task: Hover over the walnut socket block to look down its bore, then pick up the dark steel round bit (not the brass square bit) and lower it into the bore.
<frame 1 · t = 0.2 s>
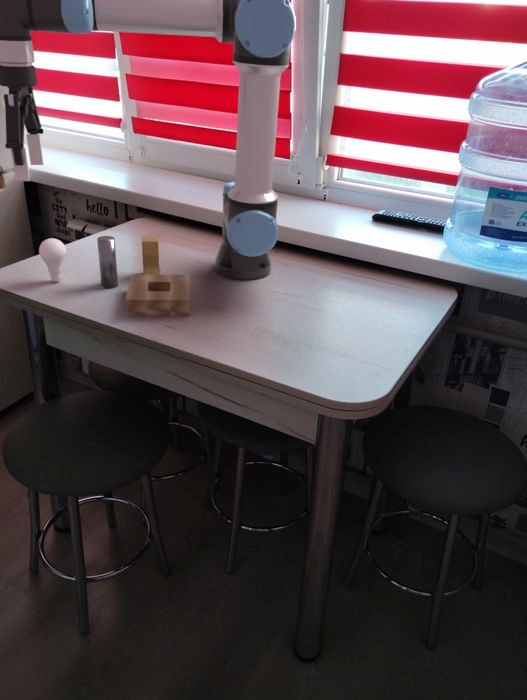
hand: (30, 172, 128), 28 cm above the table, fingers open, 13 cm apart
socket block: (159, 302, 140), on the table
lightbulb: (56, 282, 146), on the table
round bit: (109, 285, 146), on the table
square bit: (152, 275, 153), on the table
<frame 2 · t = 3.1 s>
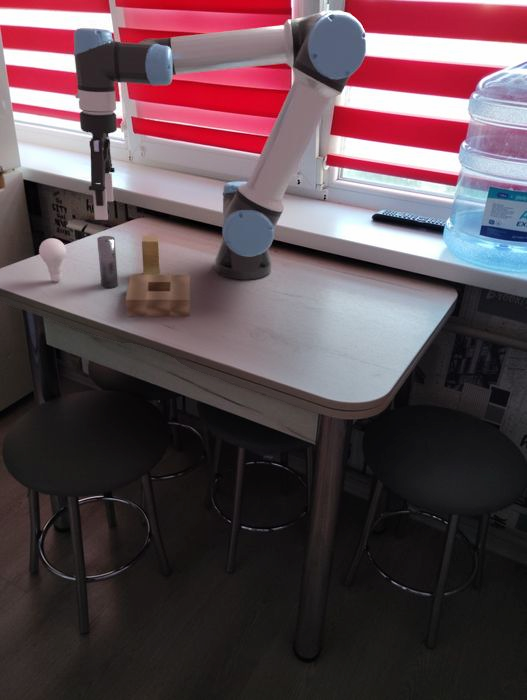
hand: (104, 209, 136), 19 cm above the table, fingers open, 13 cm apart
nothing on the table moved.
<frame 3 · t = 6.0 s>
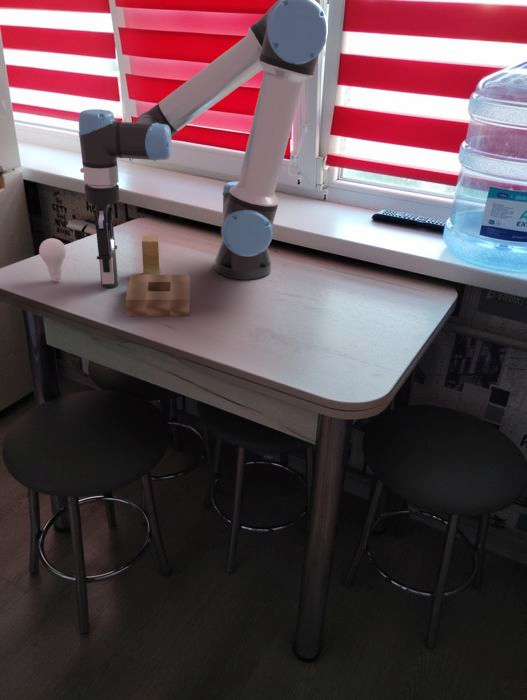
hand: (109, 279, 145), 2 cm above the table, fingers closed on round bit, 4 cm apart
round bit: (109, 285, 146), on the table, touching gripper
everything else where it was.
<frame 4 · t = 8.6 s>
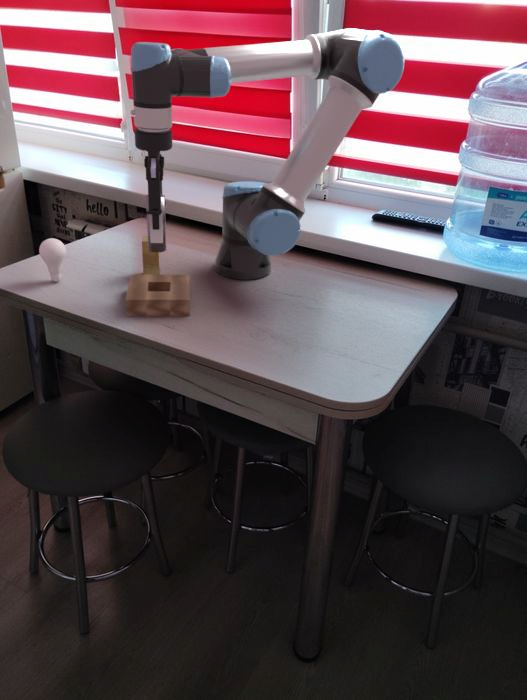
hand: (157, 238, 132), 16 cm above the table, fingers closed on round bit, 4 cm apart
round bit: (157, 249, 133), point 13 cm above the table, touching gripper
everything else where it was.
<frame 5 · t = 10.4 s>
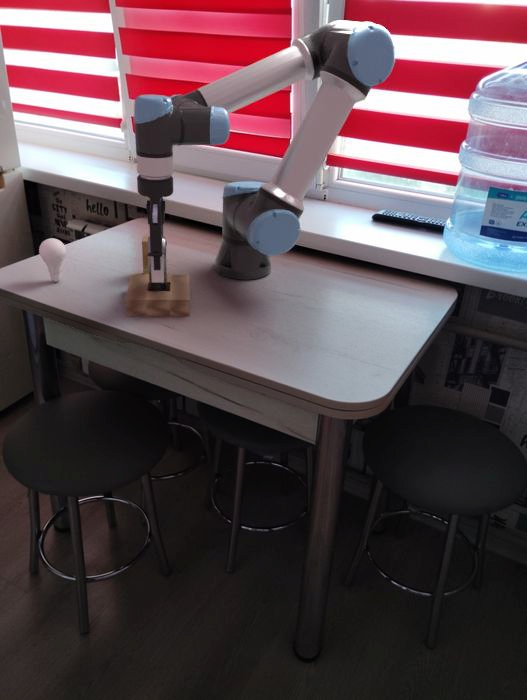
hand: (158, 277, 137), 6 cm above the table, fingers closed on round bit, 4 cm apart
round bit: (158, 287, 138), point 4 cm above the table, touching gripper
everything else where it was.
when the fingers open (5 cm above the table, at t = 11.6 s): round bit drops 2 cm, resting in socket block.
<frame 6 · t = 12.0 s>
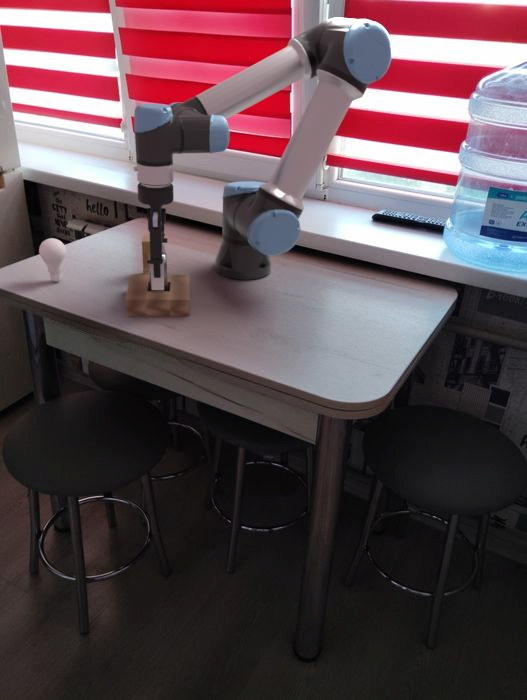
hand: (158, 279, 137), 6 cm above the table, fingers open, 10 cm apart
round bit: (159, 302, 140), resting in socket block
everything else where it was.
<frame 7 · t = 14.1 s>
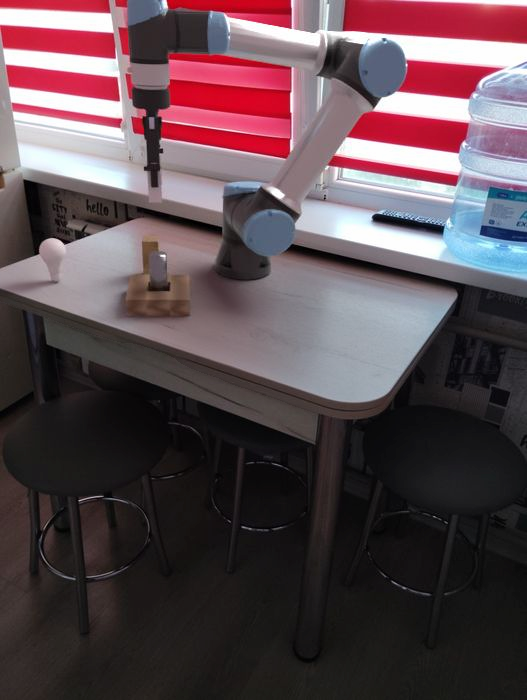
hand: (155, 192, 129), 25 cm above the table, fingers open, 13 cm apart
nothing on the table moved.
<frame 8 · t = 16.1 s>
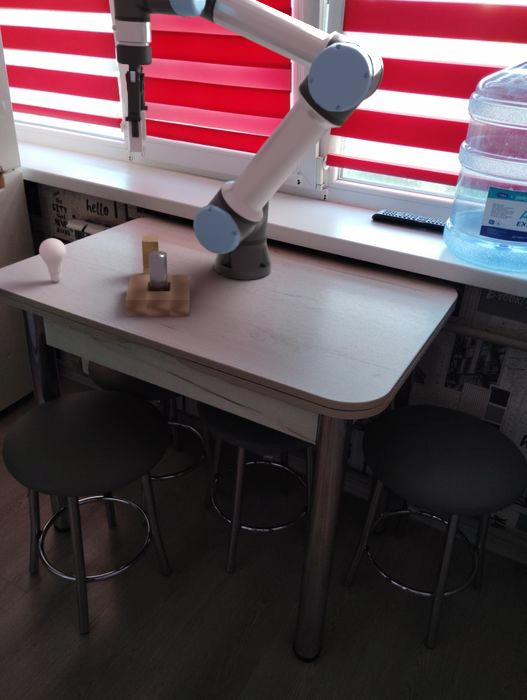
hand: (138, 145, 139), 32 cm above the table, fingers open, 13 cm apart
nothing on the table moved.
at the end: round bit 0.0 cm off-centre on the socket block, point 0.0 cm above the socket block's base; round bit tilted 0°; the gripper is holding nothing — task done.
